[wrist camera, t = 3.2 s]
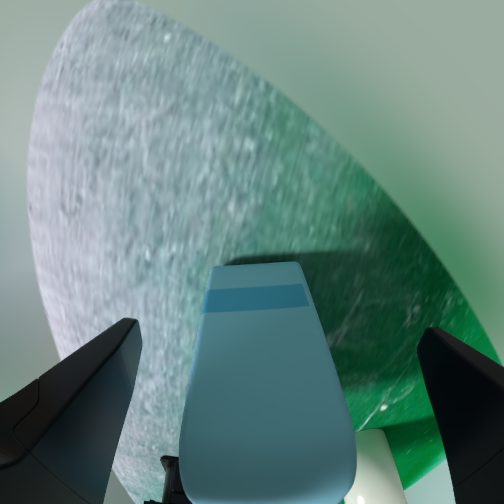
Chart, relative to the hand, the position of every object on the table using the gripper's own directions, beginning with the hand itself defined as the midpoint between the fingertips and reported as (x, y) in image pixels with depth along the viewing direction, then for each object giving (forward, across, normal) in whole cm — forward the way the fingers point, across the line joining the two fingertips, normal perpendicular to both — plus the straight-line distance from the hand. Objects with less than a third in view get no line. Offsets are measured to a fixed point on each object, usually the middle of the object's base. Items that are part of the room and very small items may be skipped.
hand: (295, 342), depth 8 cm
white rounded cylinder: (+8, -13, +24) cm, 28 cm away
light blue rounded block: (+8, 0, +7) cm, 11 cm away
